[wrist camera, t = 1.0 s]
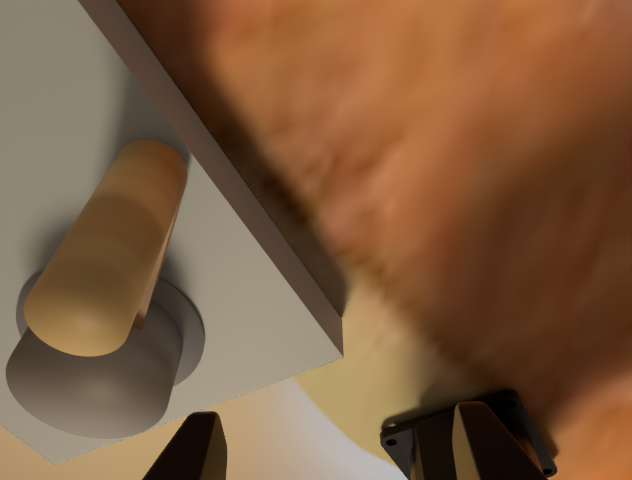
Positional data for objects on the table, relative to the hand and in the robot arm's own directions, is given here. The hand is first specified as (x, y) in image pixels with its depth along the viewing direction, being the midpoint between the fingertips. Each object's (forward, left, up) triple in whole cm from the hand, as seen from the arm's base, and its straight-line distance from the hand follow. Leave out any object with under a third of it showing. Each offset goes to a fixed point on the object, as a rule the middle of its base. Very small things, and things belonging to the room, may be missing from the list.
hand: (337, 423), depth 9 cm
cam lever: (-1, +8, -9) cm, 12 cm away
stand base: (+1, +10, -11) cm, 15 cm away
